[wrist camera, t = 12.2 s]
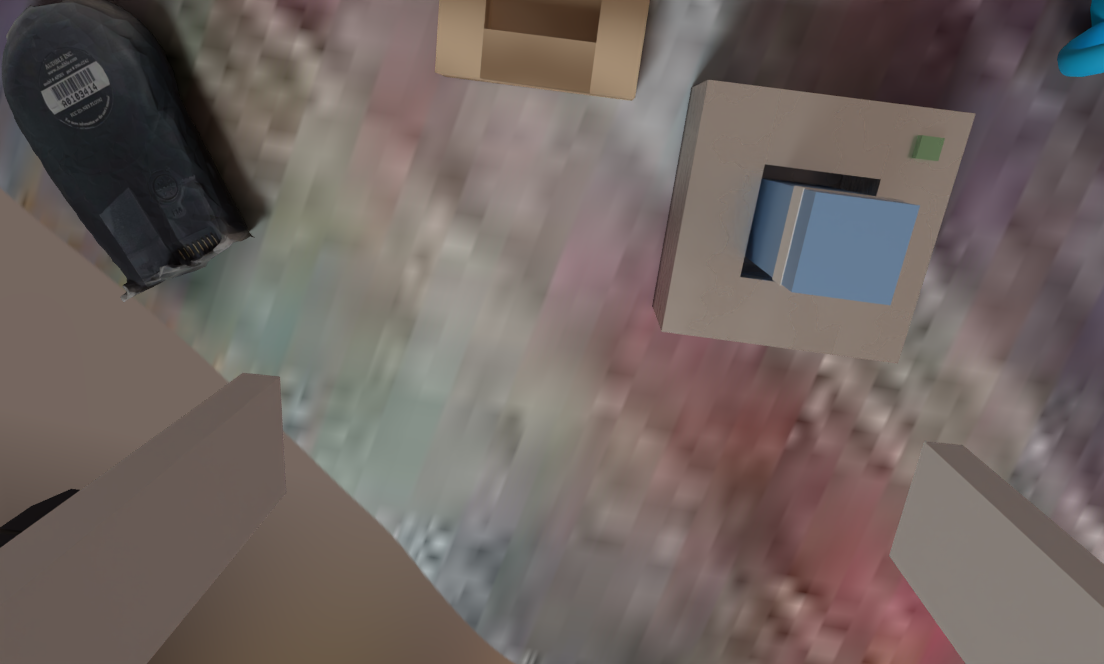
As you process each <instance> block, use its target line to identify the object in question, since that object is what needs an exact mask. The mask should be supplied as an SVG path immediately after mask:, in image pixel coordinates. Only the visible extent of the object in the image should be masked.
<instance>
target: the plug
mask: <svg viewBox="0 0 1104 664" xmlns="http://www.w3.org/2000/svg"><path fill="white" fill-rule="evenodd" d="M919 208H920V205H915V204H910V203H905V202H904V201H903V200H898V199H893V198H886V197H879V196H872V195H867V194H863V193H858V192H853V191H848V190H844V189H839V188H834V187H829V186H823V185H816V184H808V183H800V182H792V181H785V180H777V179H769V178H762V180H761V184H760V189H759V193H758V198H757V202H756V207H755V211H754V216H753V221H752V225H751V230H750V234H749V239H748V243H747V248H746V252H745V257H747V258H748V259H749V260H750V261H752V262H753V263H754V264H756V265H757V266H758V267H760V268H761V269H762V270H763V271H765V272H766V273H767V274H769V275H770V276H771V277H772V280H774V281H775V282H776V283H777V284H779V285H781V286H784V287H785V288H787V289H788V290H789V291H791V292H794V293H801V294H809V295H816V296H824V297H831V298H839V299H846V300H854V301H861V302H869V303H876V304H884V305H891V302H892V298H893V295H894V291H895V288H896V285H897V281H898V278H899V275H900V271H901V268H902V265H903V261H904V258H905V255H906V251H907V248H908V245H909V241H910V238H911V235H912V231H913V228H914V224H915V221H916V218H917V214H918V211H919Z"/></svg>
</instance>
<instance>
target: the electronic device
mask: <svg viewBox="0 0 1104 664" xmlns="http://www.w3.org/2000/svg"><path fill="white" fill-rule="evenodd" d="M6 37H7V43H6V46H5V49H4V52H3V60H2V80H3V88H4V92H5V96H6V98H7V101H8V103H9V106H10V108H11V110H12V112H13V115H14V118H15V120H16V122H17V124H18V126H19V128H20V130H21V131H22V133H23V134H24V136H25V137H26V139H27V141H28V142H29V144H30V145H31V147H32V149H33V151H34V152H35V154H36V155H37V156H38V157H39V159H40V160H41V162H42V164H43V166H44V168H45V170H46V171H47V173H48V174H49V176H50V177H51V179H52V180H53V182H54V183H55V185H56V186H57V187H58V189H59V190H60V191H61V193H62V195H63V196H64V198H65V199H66V200H67V202H68V203H69V204H70V206H71V207H72V208H73V210H74V211H75V212H76V213H77V215H78V217H79V219H80V220H81V221H82V223H83V224H84V225H85V227H86V228H87V229H88V230H89V232H90V233H91V234H92V235H93V236H94V238H95V239H96V241H97V242H98V244H99V245H100V246H101V247H102V248H103V249H104V250H105V251H106V252H107V253H108V255H109V256H110V257H111V258H112V260H113V262H114V263H115V264H116V265H117V266H118V267H119V268H120V269H121V271H122V272H123V273H124V275H125V276H126V277H127V283H126V284H124V285H123V288H124V289H125V290H126V293H125V294H124V295H122V296H121V300H122V301H124V302H125V301H126V300H127V299H129V298H131V297H133V296H134V295H137V294H139V293H141V292H143V291H145V290H147V289H150V288H152V287H154V286H155V285H157V284H159V283H161V282H163V281H165V280H167V279H170V278H174V277H178V276H181V275H183V274H186V273H190V272H193V271H196V270H198V269H201V268H203V267H206V265H207V263H208V261H209V260H210V259H212V258H213V257H215V256H216V255H218V254H219V253H221V252H222V251H224V250H225V249H227V248H228V247H230V246H231V245H232V243H233V242H237V241H243V240H244V239H246V238H248V237H250V236H251V237H253V236H252V235H251V234H250V233H249V231H248V228H247V226H246V224H245V222H244V221H243V219H242V217H241V215H240V213H239V211H238V209H237V207H236V205H235V203H234V201H233V199H232V197H231V195H230V193H229V191H228V190H227V188H226V186H225V184H224V182H223V180H222V178H221V176H220V175H219V173H218V170H217V168H216V166H215V165H214V163H213V160H212V158H211V156H210V154H209V152H208V150H207V149H206V147H205V146H204V144H203V142H202V140H201V138H200V134H199V133H198V131H197V129H196V127H195V126H194V124H193V122H192V120H191V118H190V117H189V115H188V114H187V111H186V109H185V107H184V105H183V102H182V101H181V99H180V96H179V93H178V87H177V84H176V81H175V76H174V72H173V69H172V68H171V66H170V64H169V63H168V61H167V57H166V54H165V52H164V51H163V49H162V47H161V46H160V44H159V43H158V41H157V40H156V38H155V37H154V36H153V35H152V34H151V33H150V31H149V30H148V29H147V28H146V27H145V26H144V25H143V24H142V23H141V22H140V21H139V20H138V19H136V18H135V17H133V16H132V15H131V14H130V13H129V12H127V11H126V10H124V9H122V8H120V7H119V6H117V5H115V4H113V3H111V2H109V1H106V0H63V1H62V2H60V3H56V4H49V5H43V6H31V5H30V6H29V7H28V8H26V10H25V11H24V12H23V13H22V14H21V15H20V16H19V17H18V18H17V19H16V20H15V22H14V23H13V25H12V27H11V28H10V30H9V32H8V34H7V35H6ZM254 238H255V237H254Z"/></svg>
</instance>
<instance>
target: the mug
mask: <svg viewBox="0 0 1104 664" xmlns="http://www.w3.org/2000/svg"><path fill="white" fill-rule="evenodd" d="M1090 13H1091V22H1092V27H1091V28H1090V29H1088V30H1086V31H1085V32H1083V33H1082V34H1080V35H1079V36H1077V37H1076V38H1074V39H1072V40H1071V41H1070V42H1069V43H1068V44H1067V45H1066V46H1064V47H1063V48H1062V49H1061V51H1060V52H1059V54H1058V58H1057V61H1058V66H1059V70H1060V72H1061V73H1062V74H1063V75H1065V76H1071V77H1084V76H1089V75H1094V74H1099V73H1104V0H1092V3H1091V8H1090Z"/></svg>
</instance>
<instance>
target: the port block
mask: <svg viewBox="0 0 1104 664" xmlns="http://www.w3.org/2000/svg"><path fill="white" fill-rule="evenodd" d="M974 117H975V114H974V113H966V112H958V111H950V110H942V109H935V108H927V107H919V106H911V105H903V104H895V103H888V102H880V101H872V100H864V99H856V98H848V97H841V96H833V95H825V94H817V93H809V92H801V91H794V90H786V89H778V88H770V87H762V86H754V85H747V84H739V83H731V82H723V81H715V80H707V81H704V82H702V83H700V84H698V85H696V86H694V87H692V88H691V92H690V98H689V103H688V109H687V115H686V120H685V126H684V131H683V137H682V143H681V148H680V154H679V159H678V165H677V171H676V176H675V182H674V187H673V193H672V199H671V204H670V210H669V215H668V221H667V227H666V232H665V238H664V243H663V249H662V255H661V260H660V266H659V271H658V277H657V282H656V288H655V294H654V299H653V305H652V307H653V309H654V312H655V315H656V318H657V320H658V323H659V326H660V329H661V331H662V332H669V333H677V334H684V335H691V336H699V337H706V338H713V339H721V340H728V341H736V342H743V343H750V344H758V345H765V346H773V347H780V348H787V349H795V350H802V351H810V352H817V353H824V354H832V355H839V356H847V357H854V358H861V359H869V360H876V361H883V362H891V363H898V361H899V358H900V355H901V352H902V348H903V345H904V342H905V339H906V336H907V332H908V329H909V326H910V323H911V320H912V316H913V313H914V310H915V307H916V303H917V300H918V297H919V294H920V291H921V287H922V284H923V281H924V278H925V275H926V271H927V268H928V265H929V262H930V259H931V255H932V252H933V249H934V246H935V242H936V239H937V236H938V233H939V230H940V226H941V223H942V220H943V217H944V214H945V210H946V207H947V204H948V201H949V197H950V194H951V191H952V188H953V185H954V181H955V178H956V175H957V172H958V169H959V165H960V162H961V159H962V156H963V153H964V149H965V146H966V143H967V140H968V136H969V133H970V130H971V127H972V124H973V120H974ZM762 178H769V179H777V180H785V181H792V182H800V183H808V184H816V185H823V186H829V187H834V188H839V189H844V190H848V191H853V192H858V193H863V194H867V195H872V196H879V197H886V198H893V199H898V200H903V201H904V202H905V203H910V204H915V205H920V208H919V211H918V214H917V218H916V221H915V224H914V228H913V231H912V235H911V238H910V241H909V245H908V248H907V251H906V255H905V258H904V261H903V265H902V268H901V271H900V275H899V278H898V281H897V285H896V288H895V291H894V295H893V298H892V302H891V305H884V304H876V303H869V302H861V301H854V300H846V299H839V298H831V297H824V296H816V295H809V294H801V293H794V292H791V291H789V290H788V289H787V288H785V287H784V286H781V285H779V284H777V283H776V282H775V281H774V280H772V277H771V276H770V275H769V274H767V273H766V272H765V271H763V270H762V269H761V268H760V267H758V266H757V265H756V264H754V263H753V262H752V261H750V260H749V259H748V258H747V257H745V252H746V248H747V243H748V239H749V234H750V230H751V225H752V221H753V216H754V211H755V207H756V202H757V198H758V193H759V189H760V184H761V180H762Z"/></svg>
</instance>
